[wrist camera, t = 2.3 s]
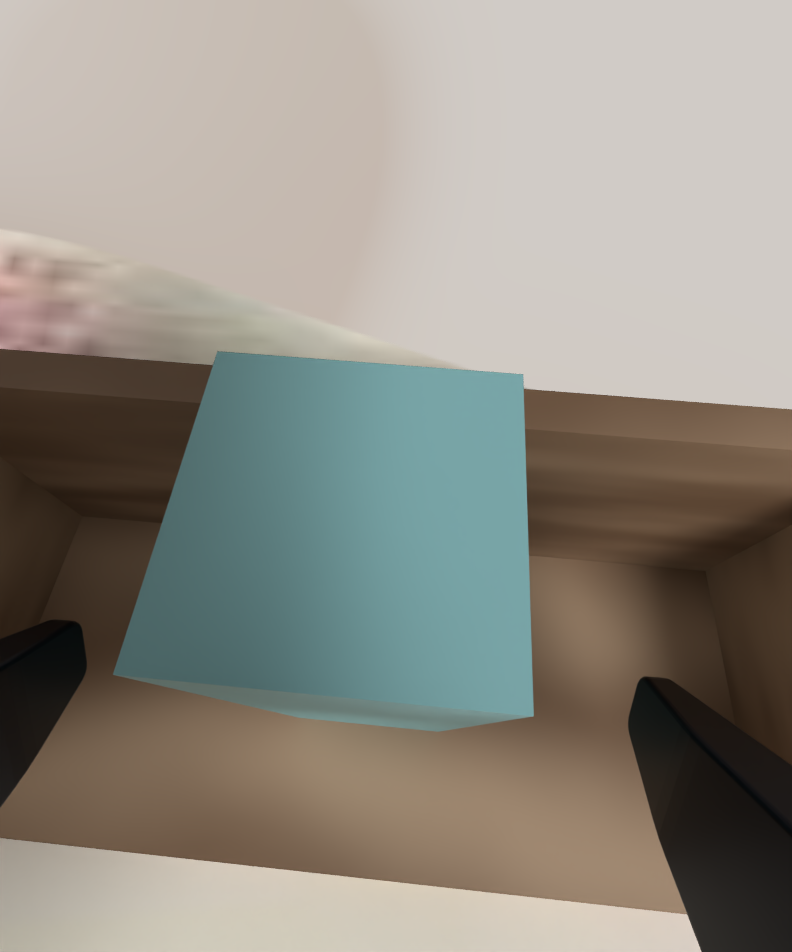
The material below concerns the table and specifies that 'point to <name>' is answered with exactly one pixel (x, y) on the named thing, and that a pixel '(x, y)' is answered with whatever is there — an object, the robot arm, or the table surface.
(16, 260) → the table surface
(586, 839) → the open box
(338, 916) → the table surface
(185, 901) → the table surface
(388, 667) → the pillar block
